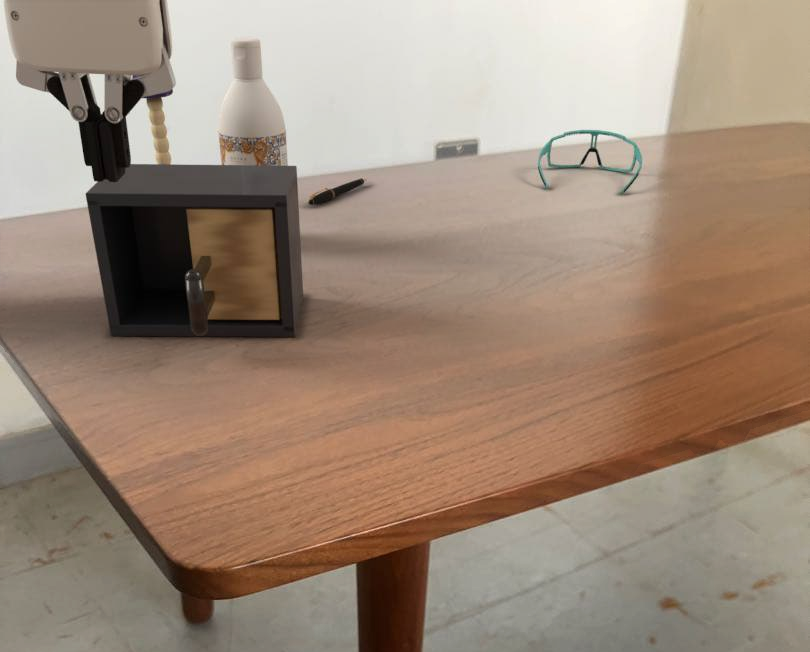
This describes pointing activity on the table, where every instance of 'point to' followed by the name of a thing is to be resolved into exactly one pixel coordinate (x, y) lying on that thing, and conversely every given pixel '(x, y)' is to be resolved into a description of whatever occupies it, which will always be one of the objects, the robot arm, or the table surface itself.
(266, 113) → the bath foam
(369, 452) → the table surface
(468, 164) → the table surface
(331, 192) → the fountain pen
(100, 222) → the cupboard
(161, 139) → the toy lamp
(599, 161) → the sunglasses
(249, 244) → the sliding door
